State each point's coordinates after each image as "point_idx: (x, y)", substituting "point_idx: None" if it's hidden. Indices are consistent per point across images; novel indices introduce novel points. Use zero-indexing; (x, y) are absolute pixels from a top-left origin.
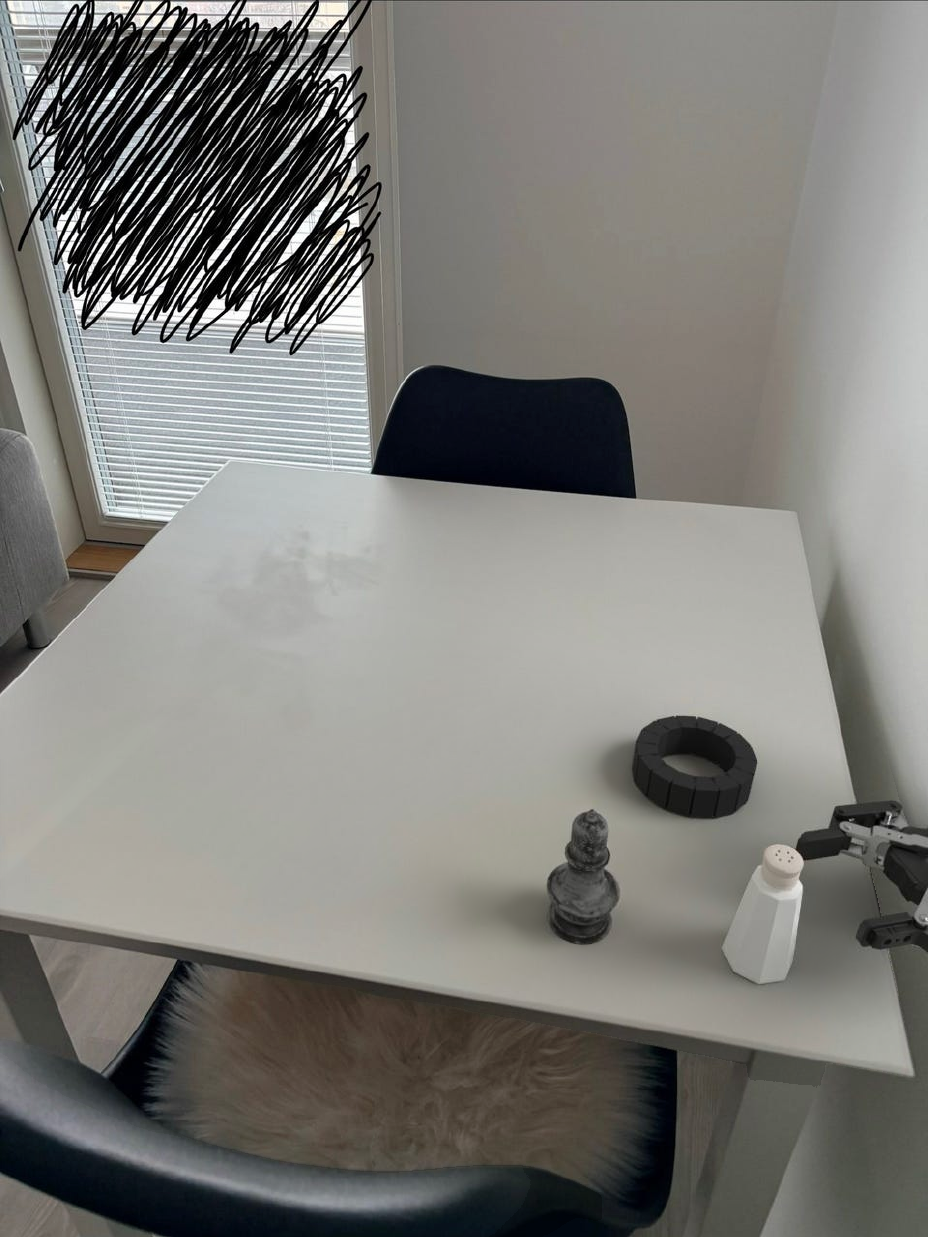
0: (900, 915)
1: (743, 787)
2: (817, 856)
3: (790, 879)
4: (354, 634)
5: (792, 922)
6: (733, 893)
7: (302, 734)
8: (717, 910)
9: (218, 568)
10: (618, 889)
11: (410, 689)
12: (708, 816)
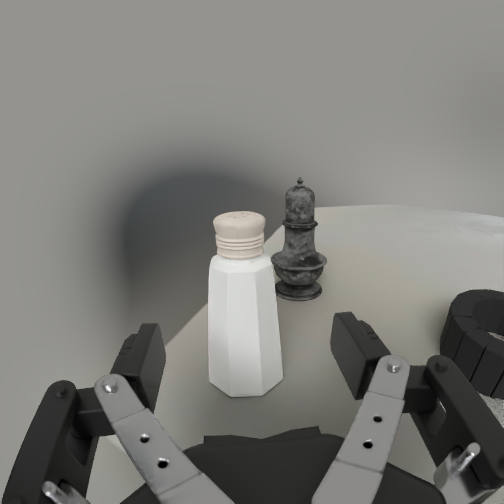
0: (137, 361)
1: (488, 358)
2: (341, 364)
3: (216, 234)
4: (489, 239)
5: (208, 303)
6: (338, 374)
7: (410, 231)
8: (311, 358)
9: (490, 221)
10: (297, 268)
11: (468, 250)
12: None
